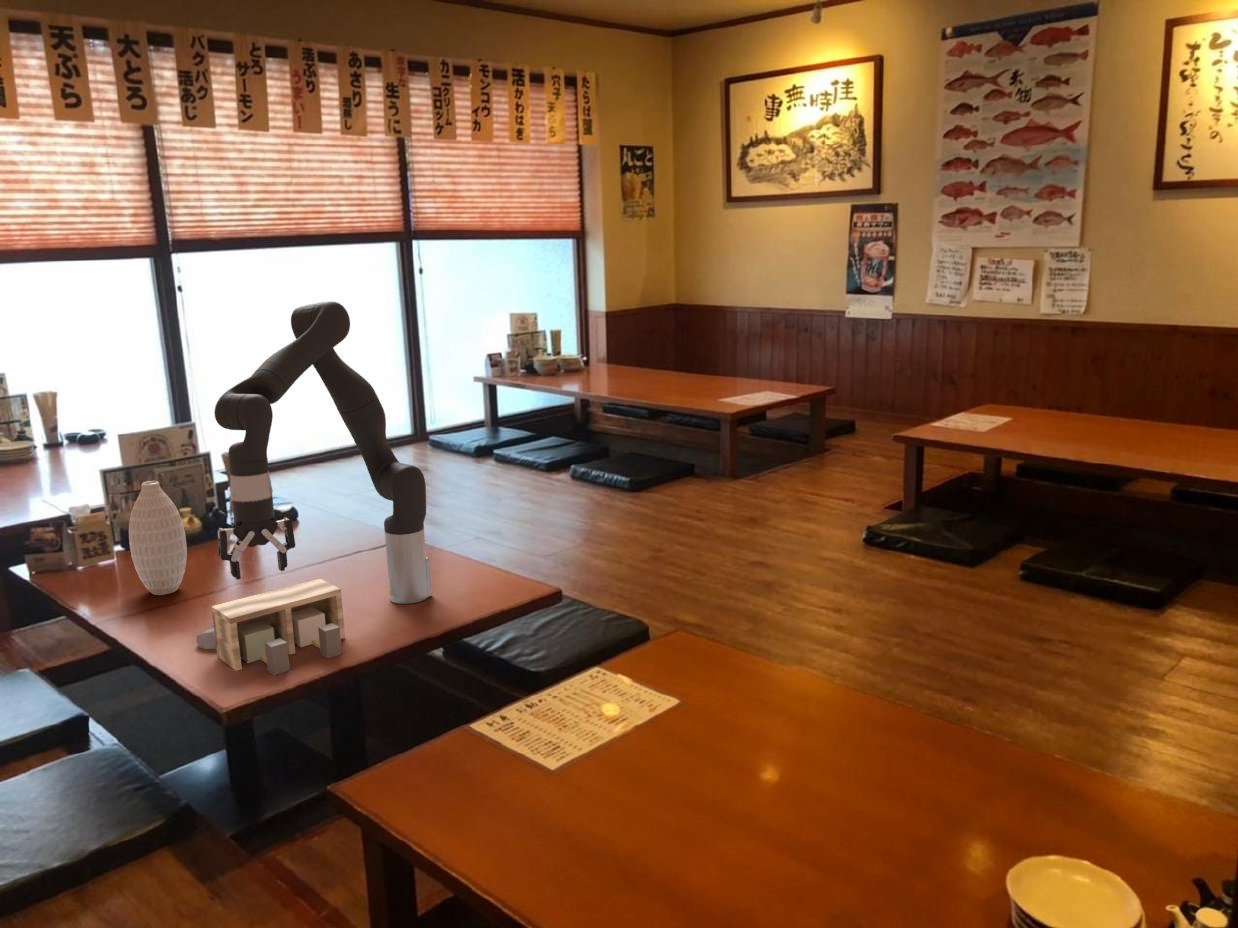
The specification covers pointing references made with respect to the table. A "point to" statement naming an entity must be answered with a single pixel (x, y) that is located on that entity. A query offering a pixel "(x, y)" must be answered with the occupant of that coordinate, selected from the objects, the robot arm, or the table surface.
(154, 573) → the vase
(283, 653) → the sage block
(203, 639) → the stone block
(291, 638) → the shelf
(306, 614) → the cream block
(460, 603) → the table surface
